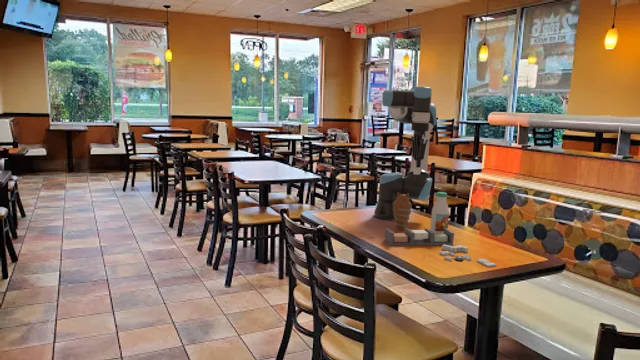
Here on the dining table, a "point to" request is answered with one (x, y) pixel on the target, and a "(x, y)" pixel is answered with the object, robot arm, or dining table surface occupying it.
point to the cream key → (420, 234)
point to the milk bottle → (440, 214)
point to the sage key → (440, 237)
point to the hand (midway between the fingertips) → (416, 174)
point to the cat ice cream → (402, 210)
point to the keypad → (418, 242)
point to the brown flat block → (400, 237)
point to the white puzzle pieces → (463, 249)
